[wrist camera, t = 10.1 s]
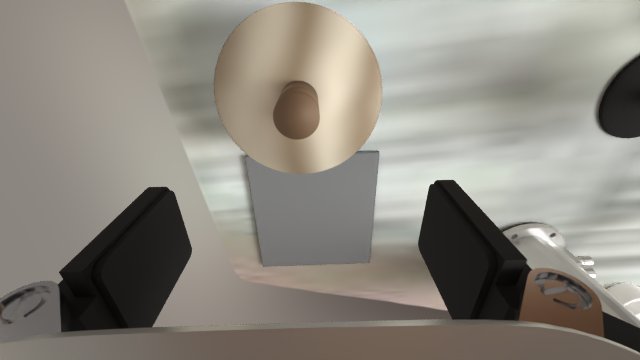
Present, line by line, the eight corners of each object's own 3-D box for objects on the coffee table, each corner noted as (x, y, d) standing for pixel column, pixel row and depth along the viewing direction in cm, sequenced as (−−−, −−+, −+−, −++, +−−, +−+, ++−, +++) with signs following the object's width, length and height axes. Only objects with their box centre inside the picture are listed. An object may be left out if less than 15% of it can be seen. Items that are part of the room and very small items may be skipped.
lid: (386, 0, 21) (412, -9, 16) (373, 166, 28) (388, 200, 22) (201, 5, 21) (162, -3, 15) (233, 170, 28) (214, 205, 22)
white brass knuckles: (560, 316, 51) (636, 265, 45) (618, 342, 56) (694, 299, 50) (576, 334, 48) (659, 282, 42) (635, 359, 53) (718, 316, 47)
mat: (378, 151, 34) (379, 153, 33) (368, 259, 42) (369, 262, 42) (246, 154, 33) (245, 156, 33) (263, 263, 42) (263, 266, 42)
